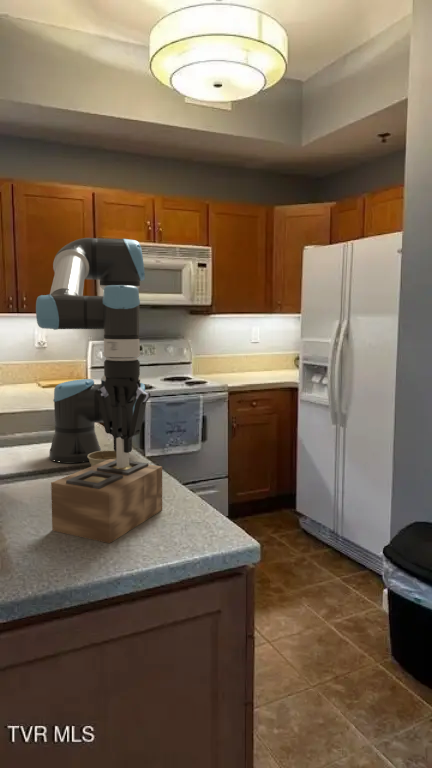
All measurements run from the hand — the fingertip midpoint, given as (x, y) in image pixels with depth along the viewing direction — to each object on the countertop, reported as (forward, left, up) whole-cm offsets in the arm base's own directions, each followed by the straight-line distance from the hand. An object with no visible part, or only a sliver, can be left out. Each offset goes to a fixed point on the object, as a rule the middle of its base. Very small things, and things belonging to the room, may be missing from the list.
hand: (123, 466), depth 120 cm
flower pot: (-12, -13, -11) cm, 21 cm away
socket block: (+5, 0, -11) cm, 12 cm away
